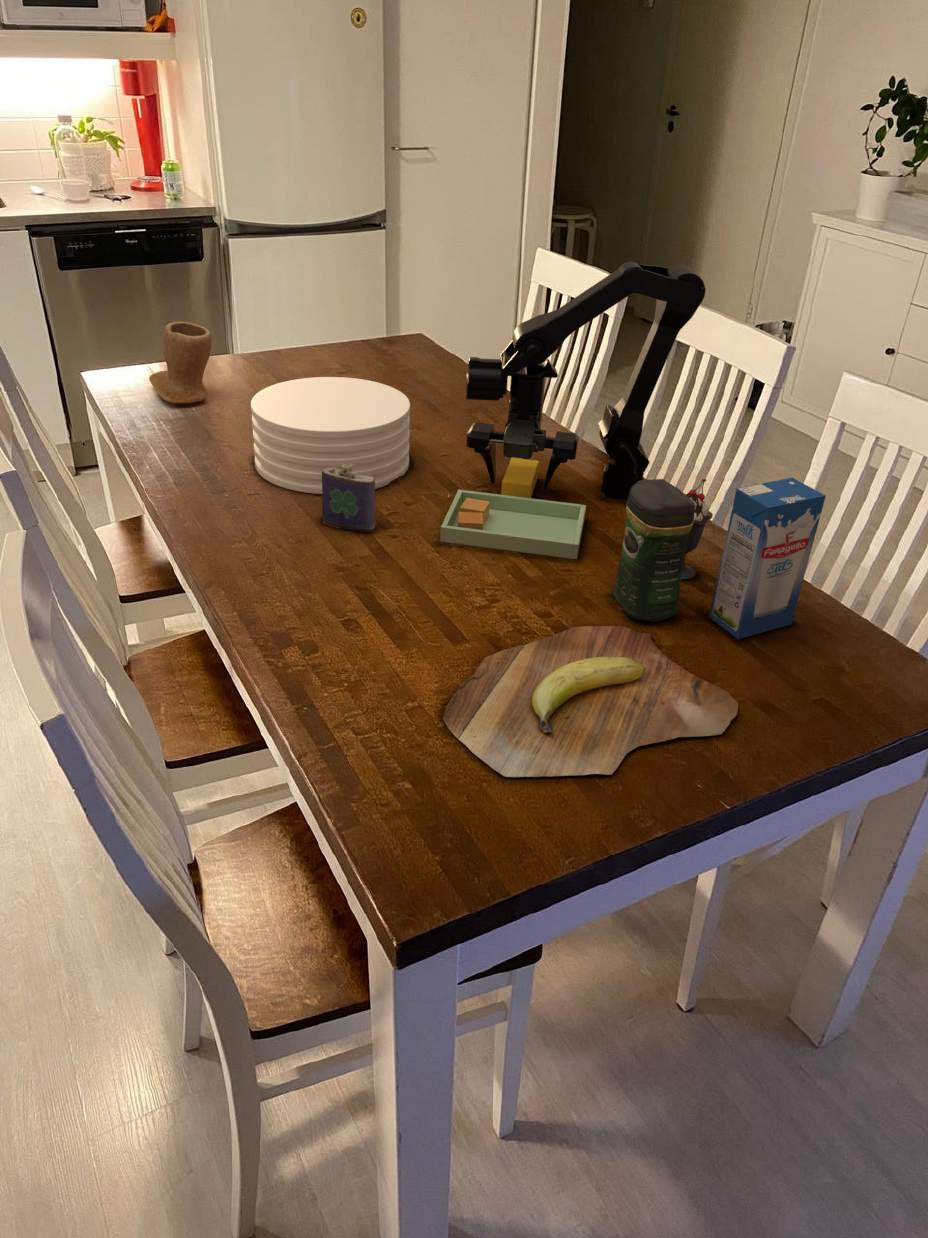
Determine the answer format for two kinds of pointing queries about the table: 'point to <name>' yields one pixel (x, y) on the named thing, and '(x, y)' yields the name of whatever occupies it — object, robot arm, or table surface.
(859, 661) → the table surface
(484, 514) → the block
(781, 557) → the milk carton
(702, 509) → the sundae
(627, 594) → the coffee jar
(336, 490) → the flask
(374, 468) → the plate stack
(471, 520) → the block
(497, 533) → the tray
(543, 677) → the cutting board
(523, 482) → the sponge
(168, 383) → the brown boot
